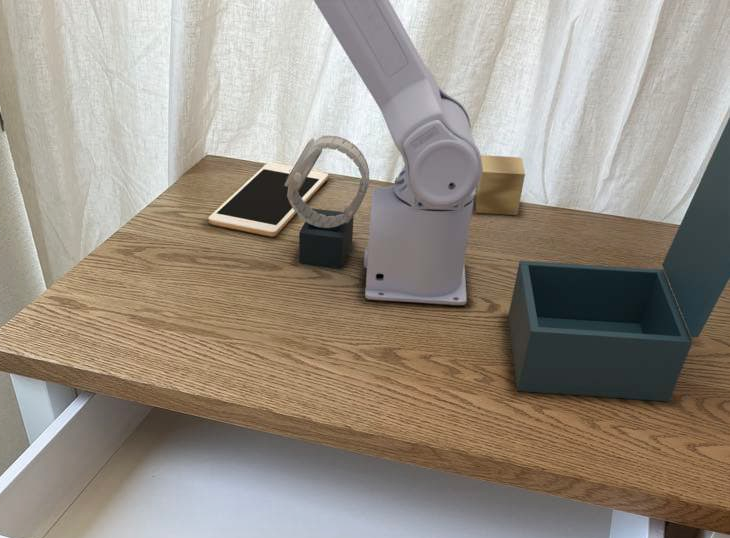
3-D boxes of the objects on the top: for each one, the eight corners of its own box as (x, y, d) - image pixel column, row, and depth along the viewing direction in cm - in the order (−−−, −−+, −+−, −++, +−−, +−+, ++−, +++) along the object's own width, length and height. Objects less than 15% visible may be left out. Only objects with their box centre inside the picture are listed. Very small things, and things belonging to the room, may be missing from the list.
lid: (780, 163, 54) (789, 165, 54) (735, 102, 62) (743, 103, 62) (690, 337, 63) (698, 338, 63) (661, 264, 71) (668, 265, 71)
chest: (516, 391, 68) (530, 331, 64) (507, 317, 76) (519, 260, 72) (668, 401, 68) (692, 341, 64) (643, 326, 76) (663, 269, 71)
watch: (293, 235, 86) (292, 124, 79) (369, 244, 85) (376, 133, 77) (280, 260, 83) (277, 147, 75) (358, 270, 82) (365, 156, 74)
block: (476, 212, 91) (482, 171, 88) (474, 195, 94) (480, 154, 91) (517, 215, 91) (525, 174, 88) (514, 197, 94) (521, 157, 91)
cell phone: (329, 178, 96) (329, 173, 96) (274, 237, 86) (274, 232, 85) (267, 167, 98) (267, 161, 98) (207, 224, 87) (206, 218, 87)
